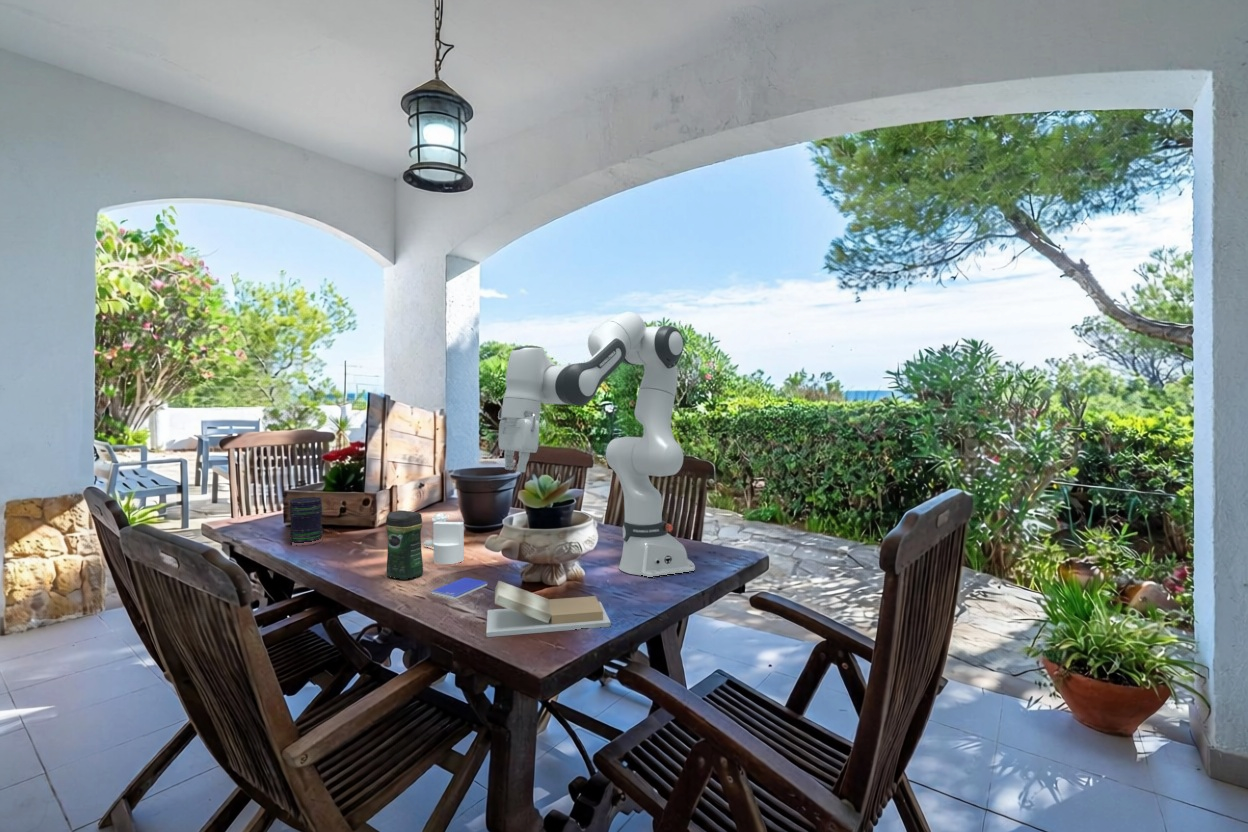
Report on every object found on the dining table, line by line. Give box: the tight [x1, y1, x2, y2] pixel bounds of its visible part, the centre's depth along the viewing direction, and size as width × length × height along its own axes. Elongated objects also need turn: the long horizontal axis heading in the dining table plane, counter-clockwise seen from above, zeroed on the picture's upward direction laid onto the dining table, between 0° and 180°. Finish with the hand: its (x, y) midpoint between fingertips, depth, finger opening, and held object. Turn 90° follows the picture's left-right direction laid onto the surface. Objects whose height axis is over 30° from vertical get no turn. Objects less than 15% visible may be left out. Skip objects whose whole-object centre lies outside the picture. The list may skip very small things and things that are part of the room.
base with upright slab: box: [432, 521, 465, 564], centre depth 178 cm, size 9×9×12 cm
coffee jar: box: [385, 510, 424, 580], centre depth 163 cm, size 10×8×19 cm
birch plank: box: [494, 580, 552, 623], centre depth 131 cm, size 13×10×2 cm
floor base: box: [485, 595, 612, 638], centre depth 132 cm, size 27×13×3 cm, turn 102°
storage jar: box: [289, 496, 323, 543], centre depth 199 cm, size 10×10×15 cm
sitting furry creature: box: [422, 512, 450, 547], centre depth 193 cm, size 10×9×12 cm
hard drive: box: [430, 577, 488, 600], centre depth 152 cm, size 2×8×12 cm
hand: (514, 470), depth 135 cm, fingers open, 8 cm apart
